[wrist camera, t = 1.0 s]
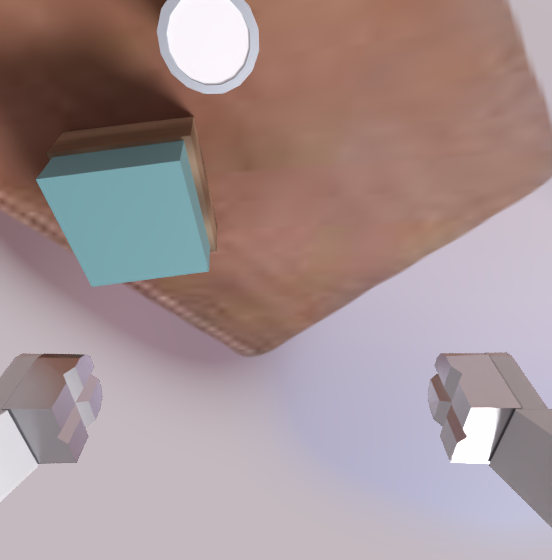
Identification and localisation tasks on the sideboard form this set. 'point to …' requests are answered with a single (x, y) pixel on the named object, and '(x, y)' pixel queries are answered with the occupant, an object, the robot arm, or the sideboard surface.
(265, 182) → the sideboard surface
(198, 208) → the tower top block
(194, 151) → the tower base block
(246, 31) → the white rimmed cylinder
